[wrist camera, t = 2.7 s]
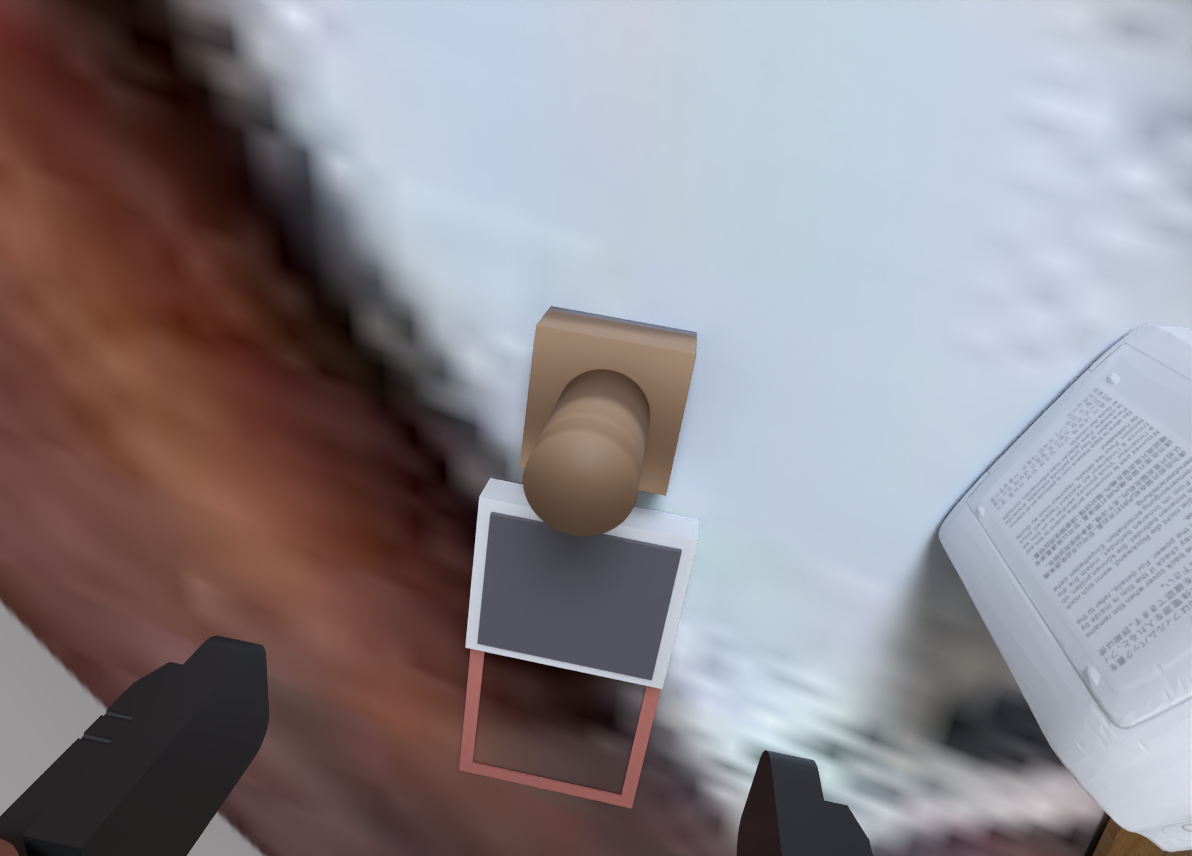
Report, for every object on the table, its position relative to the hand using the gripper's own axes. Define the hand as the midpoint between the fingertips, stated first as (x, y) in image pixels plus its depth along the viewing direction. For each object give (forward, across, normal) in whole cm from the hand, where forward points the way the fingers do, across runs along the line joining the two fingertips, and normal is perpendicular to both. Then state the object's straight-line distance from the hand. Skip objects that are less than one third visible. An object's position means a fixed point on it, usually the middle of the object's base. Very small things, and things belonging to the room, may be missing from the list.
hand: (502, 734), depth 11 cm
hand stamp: (+16, 0, 0) cm, 16 cm away
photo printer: (+16, -16, -1) cm, 22 cm away
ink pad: (+16, 0, +8) cm, 17 cm away
